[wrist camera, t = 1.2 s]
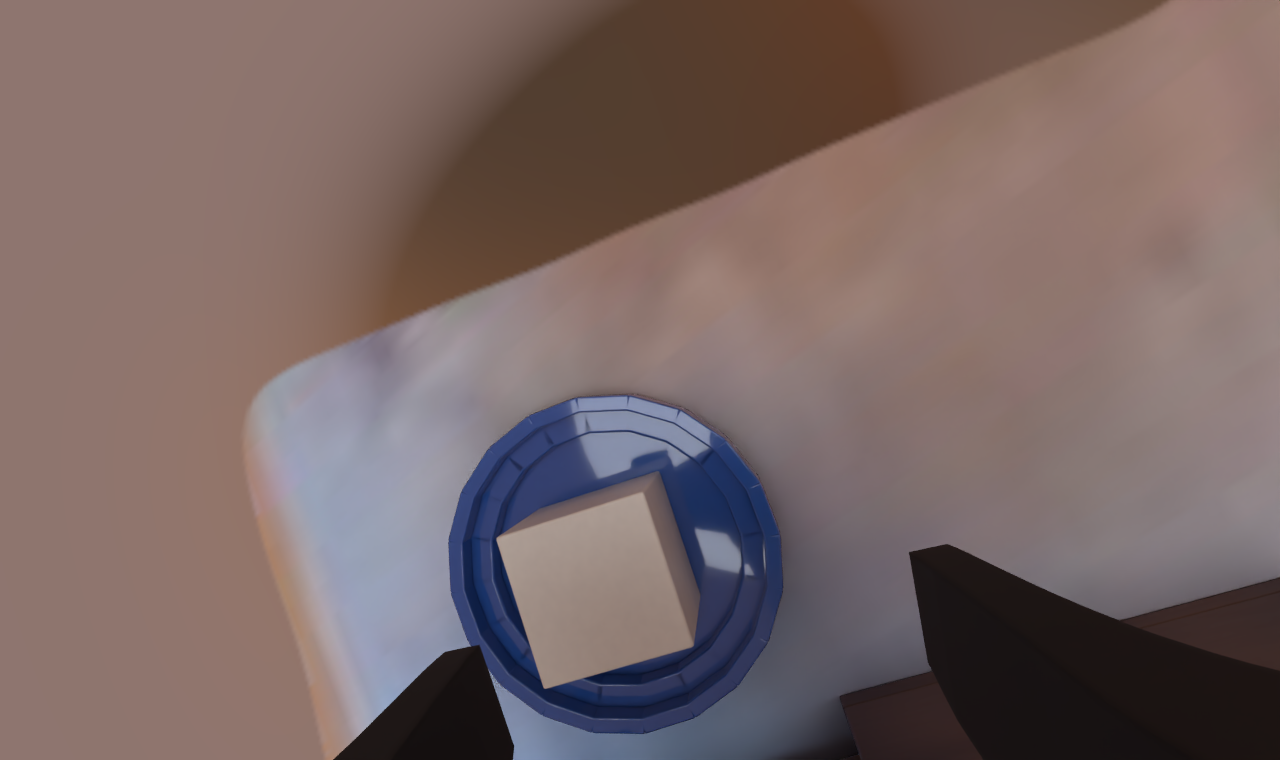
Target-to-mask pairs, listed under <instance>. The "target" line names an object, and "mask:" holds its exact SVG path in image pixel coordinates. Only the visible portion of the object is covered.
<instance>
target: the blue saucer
mask: <svg viewBox="0 0 1280 760" xmlns="http://www.w3.org/2000/svg"><path fill="white" fill-rule="evenodd" d="M656 471H659V472H660V474H661V477H662V480H663V484H664V487H665V490H666V493H667V496H668V499H669V502H670V505H671V508H672V511H673V514H674V517H675V520H676V523H677V526H678V529H679V532H680V535H681V538H682V541H683V544H684V547H685V550H686V553H687V556H688V559H689V562H690V565H691V568H692V571H693V574H694V577H695V580H696V583H697V586H698V589H699V592H700V603H699V610H698V618H697V625H696V632H695V640H694V646H693V647H691V648H688V649H684V650H681V651H677V652H674V653H670V654H667V655H663V656H660V657H656V658H653V659H649V660H646V661H642V662H639V663H635V664H632V665H628V666H625V667H621V668H618V669H614V670H611V671H607V672H604V673H600V674H597V675H593V676H589V677H586V678H582V679H579V680H575V681H572V682H568V683H565V684H561V685H558V686H554V687H551V688H547V689H544V687H543V684H542V681H541V678H540V675H539V672H538V669H537V666H536V663H535V659H534V656H533V653H532V650H531V647H530V644H529V641H528V637H527V634H526V631H525V628H524V625H523V622H522V619H521V616H520V612H519V609H518V606H517V603H516V600H515V597H514V594H513V591H512V587H511V584H510V581H509V578H508V575H507V572H506V569H505V566H504V562H503V559H502V556H501V553H500V550H499V547H498V544H497V537H498V536H500V535H501V534H503V533H504V532H506V531H507V530H509V529H510V528H512V527H513V526H515V525H516V524H518V523H519V522H521V521H522V520H524V519H525V518H526V517H528V516H529V515H531V514H532V513H534V512H535V511H537V510H538V509H540V508H543V507H546V506H549V505H553V504H556V503H559V502H562V501H565V500H568V499H571V498H574V497H578V496H581V495H584V494H587V493H590V492H593V491H596V490H600V489H603V488H606V487H609V486H612V485H615V484H618V483H621V482H625V481H628V480H631V479H634V478H637V477H640V476H643V475H647V474H650V473H653V472H656ZM448 544H449V566H450V587H451V592H452V593H451V595H452V598H453V601H454V604H455V607H456V609H457V612H458V615H459V618H460V621H461V623H462V626H463V629H464V632H465V634H466V637H467V640H468V641H469V644H470V645H471V646H476V645H480V647H481V650H482V653H483V656H484V659H485V662H486V665H487V668H488V669H489V671H490V672H491V673H492V675H493V676H494V677H495V679H496V680H497V681H498V683H501V686H503V687H504V688H505V689H507V690H508V691H509V692H511V693H512V694H514V695H515V696H516V697H518V698H519V699H520V700H522V701H523V702H524V703H526V704H527V705H528V706H530V707H531V708H533V709H534V710H535V711H537V712H538V713H539V714H541V715H543V716H545V717H548V718H550V719H553V720H556V721H559V722H562V723H565V724H568V725H571V726H574V727H577V728H580V729H583V730H585V731H588V732H593V733H624V734H644V733H649V732H652V731H655V730H658V729H661V728H665V727H668V726H671V725H674V724H677V723H680V722H684V721H687V720H690V719H693V718H695V717H697V716H698V715H700V714H701V713H703V712H704V711H705V710H707V709H708V708H709V707H711V706H712V705H713V704H715V703H716V702H717V701H719V700H720V699H721V698H723V697H724V696H726V695H727V694H728V693H730V692H731V691H732V690H734V689H735V688H736V687H737V685H739V684H740V683H741V681H742V680H743V678H744V677H745V676H746V674H747V673H748V671H749V670H750V668H751V667H752V665H753V664H754V662H755V661H756V660H757V658H758V657H759V655H760V654H761V652H762V651H763V649H764V648H765V646H766V645H767V644H768V641H769V639H770V635H771V632H772V628H773V625H774V621H775V617H776V614H777V610H778V607H779V603H780V600H781V596H782V592H783V572H782V552H781V535H780V531H779V528H778V525H777V522H776V519H775V517H774V514H773V512H772V509H771V506H770V504H769V501H768V499H767V496H766V493H765V491H764V488H763V485H762V483H761V480H760V478H759V477H758V474H757V473H756V472H755V470H754V469H753V468H752V467H751V465H750V464H749V463H748V462H747V460H746V459H745V458H744V457H743V455H742V454H741V453H740V452H739V450H738V449H737V448H736V447H735V445H734V444H733V443H732V442H731V440H730V439H729V438H728V437H727V436H725V435H724V434H723V433H722V432H720V431H719V430H717V429H716V428H714V427H713V426H711V425H710V424H708V423H707V422H705V421H704V420H702V419H701V418H699V417H698V416H696V415H695V414H693V413H692V412H690V411H689V410H687V409H685V408H682V407H681V406H678V405H674V404H670V403H667V402H663V401H659V400H656V399H652V398H649V397H645V396H641V395H634V394H619V395H598V396H583V397H577V398H573V399H570V400H567V401H565V402H562V403H560V404H557V405H554V406H552V407H549V408H547V409H544V410H541V411H539V412H536V413H534V414H531V415H529V416H528V417H526V418H525V419H523V420H522V421H521V422H520V423H519V424H517V425H516V426H515V427H514V428H513V429H511V430H510V431H509V432H508V433H506V434H505V435H504V436H503V437H502V438H500V439H499V440H498V441H497V442H495V443H494V444H493V445H492V446H491V447H490V449H488V450H487V452H486V453H485V455H484V456H483V458H482V459H481V461H480V463H479V464H478V466H477V467H476V469H475V470H474V472H473V474H472V475H471V477H470V478H469V480H468V481H467V483H466V485H465V486H464V488H463V489H462V492H461V494H460V498H459V502H458V505H457V509H456V513H455V517H454V521H453V524H452V528H451V532H450V536H449V542H448Z"/></svg>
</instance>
